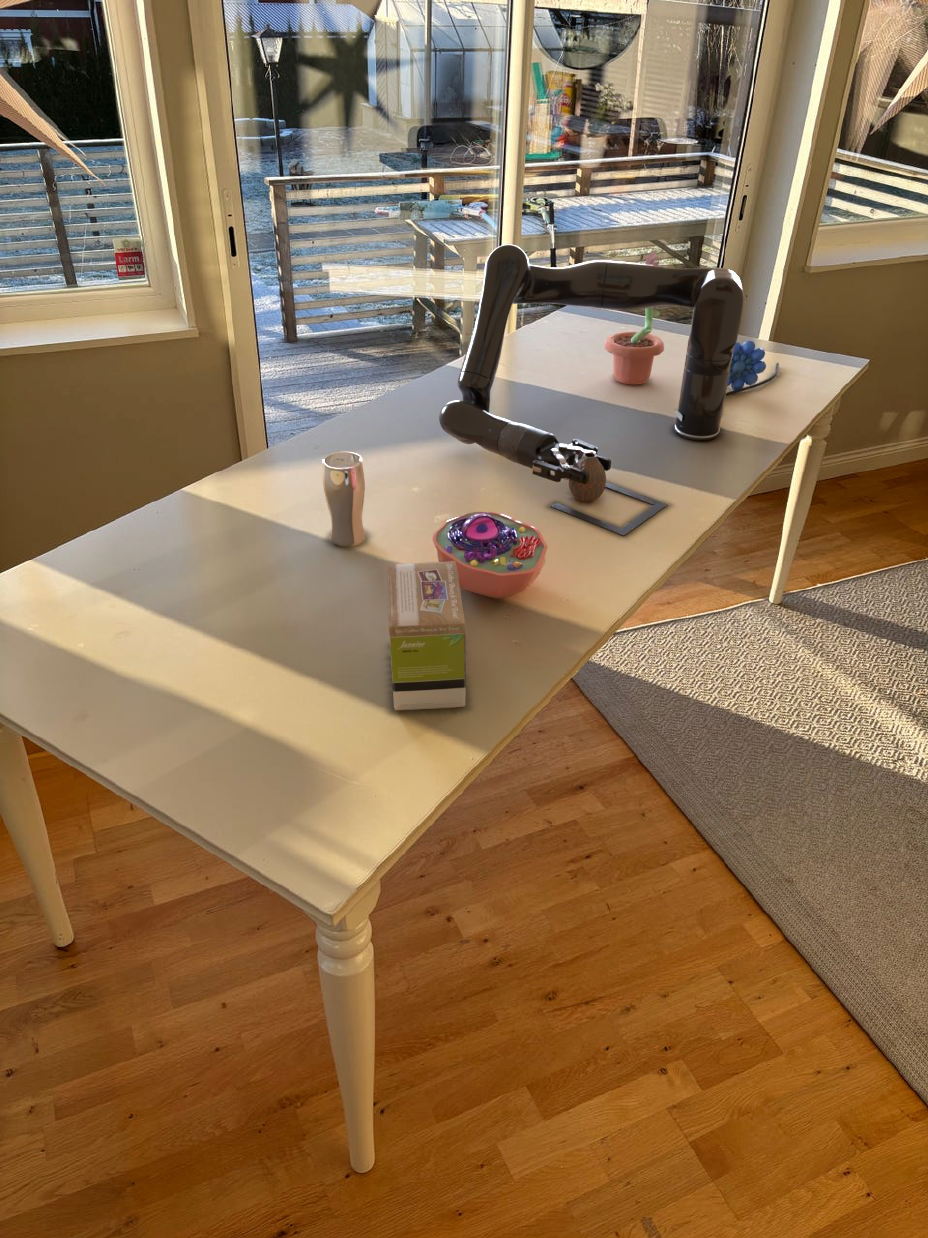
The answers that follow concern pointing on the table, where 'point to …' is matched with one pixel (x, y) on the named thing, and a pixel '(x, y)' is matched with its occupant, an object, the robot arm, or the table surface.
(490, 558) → the cell model
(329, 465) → the beer glass
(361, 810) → the table surface
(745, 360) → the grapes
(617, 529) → the tape u shape
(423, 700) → the tea box
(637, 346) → the decorative flower
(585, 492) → the vase
